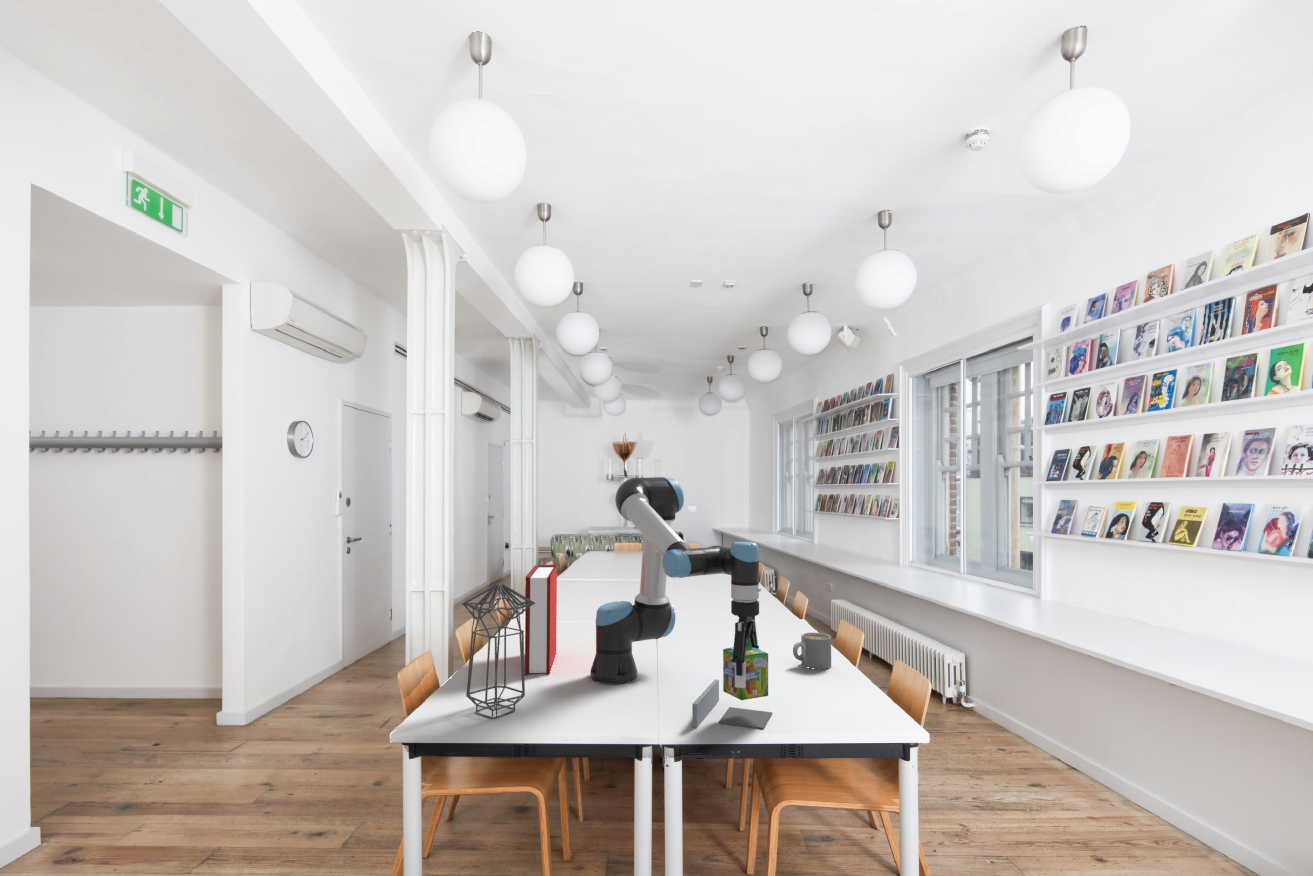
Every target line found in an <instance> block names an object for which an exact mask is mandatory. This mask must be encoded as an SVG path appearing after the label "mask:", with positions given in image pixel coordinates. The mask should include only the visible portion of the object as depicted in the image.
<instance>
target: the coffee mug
mask: <svg viewBox="0 0 1313 876" xmlns="http://www.w3.org/2000/svg"><path fill="white" fill-rule="evenodd" d="M800 639H801V641H798V642H795V643H794V644H793V648H792V653H793V654H792V655H793V657H794V658H795V659H796V660H798V661H800V662H801V666H802V665H803V666H805V667H809V668H814V669H813V670H815V669H824V670H828V669H827V668H829V669H831V668H832V636H831V635H830V634H828V633H824V632H804V633H802V634H801V638H800ZM800 647H801V654H798V650H799V648H800ZM803 666H802V667H803ZM805 667H804V668H805ZM830 667H831V668H830ZM809 668H808V669H809Z"/></svg>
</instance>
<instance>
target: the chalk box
mask: <svg viewBox="0 0 1313 876" xmlns="http://www.w3.org/2000/svg"><path fill="white" fill-rule="evenodd" d="M733 649H734V646H733V647H732V646H731V647H728V648H727V647H726V648H722V657H723V662H722V664H723V665H722V670H723V672H722V673H723V676H722V677H723V678H722V679H723V680H722V682H723V683H722V685H723V687H722V690H723V692H724V693H726V694H727V695H730V696H732V697H734V698H736V699H737V700H740V701H746V700H751V699H758V698H765V697H768V696H769V653H768V652H767V651H763V650H761V649H760V648H759V649H757V648H753V647H752V646H751V640H750V637H749V639H748V640H747V646H746V652H745V661H744V662H745V663H746V688H737V687H735V662H731V659H732V658H733ZM738 657H740V656H738Z"/></svg>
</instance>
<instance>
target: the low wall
mask: <svg viewBox="0 0 1313 876" xmlns="http://www.w3.org/2000/svg"><path fill="white" fill-rule="evenodd" d="M718 701H720V679H714V680H713V681H712V682H711V683H710V684H709V685H708V686H707V687H706V688H705V690H703V692H702V693H701V694H700V695H699V696H698V697H697V698H696V699H695V700H694V701H693V702H692V704H691V705H692V707H691V708H692V709H691V710H692V712H691V713H692V715H691V716H692V724H691V725H692V728H696V729H697V728H698V727H700V725H701V724H702V722H703V721H704V720H705V719H706V718H707V716H708V715H709V714H710V713H711V712H712V710H713V709H714V708H715V706H716V705H717V704H718V703H719V702H718ZM717 702H718V703H717ZM716 703H717V704H716ZM713 707H714V708H713ZM712 708H713V709H712ZM709 712H710V713H709ZM708 713H709V714H708Z"/></svg>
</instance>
